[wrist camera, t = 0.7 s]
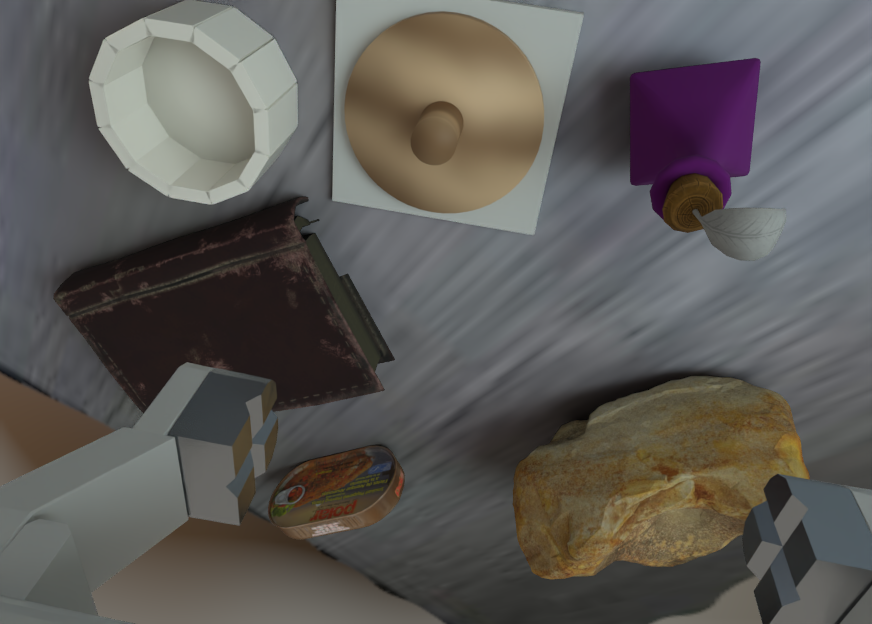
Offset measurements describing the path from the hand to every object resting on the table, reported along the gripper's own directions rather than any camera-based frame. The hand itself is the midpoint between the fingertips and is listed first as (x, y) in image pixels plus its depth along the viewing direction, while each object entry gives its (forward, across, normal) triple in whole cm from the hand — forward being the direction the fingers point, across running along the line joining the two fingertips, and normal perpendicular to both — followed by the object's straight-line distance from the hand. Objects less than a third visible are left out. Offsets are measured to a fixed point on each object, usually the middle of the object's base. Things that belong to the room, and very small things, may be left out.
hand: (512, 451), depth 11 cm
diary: (+40, +23, +30) cm, 55 cm away
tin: (+40, +12, +47) cm, 63 cm away
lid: (+38, +6, +8) cm, 39 cm away
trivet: (+39, +6, +8) cm, 40 cm away
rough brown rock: (+40, -17, +36) cm, 56 cm away
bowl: (+39, +23, +9) cm, 46 cm away
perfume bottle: (+39, -10, +5) cm, 41 cm away
